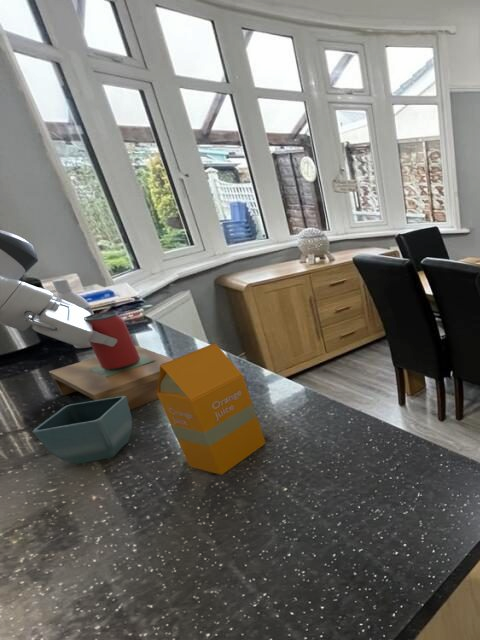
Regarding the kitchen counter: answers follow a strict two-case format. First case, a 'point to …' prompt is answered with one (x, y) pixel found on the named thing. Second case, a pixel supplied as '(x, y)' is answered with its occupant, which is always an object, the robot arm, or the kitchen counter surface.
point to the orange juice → (209, 409)
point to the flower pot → (87, 430)
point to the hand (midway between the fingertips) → (114, 338)
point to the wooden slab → (114, 379)
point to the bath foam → (71, 299)
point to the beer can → (122, 350)
